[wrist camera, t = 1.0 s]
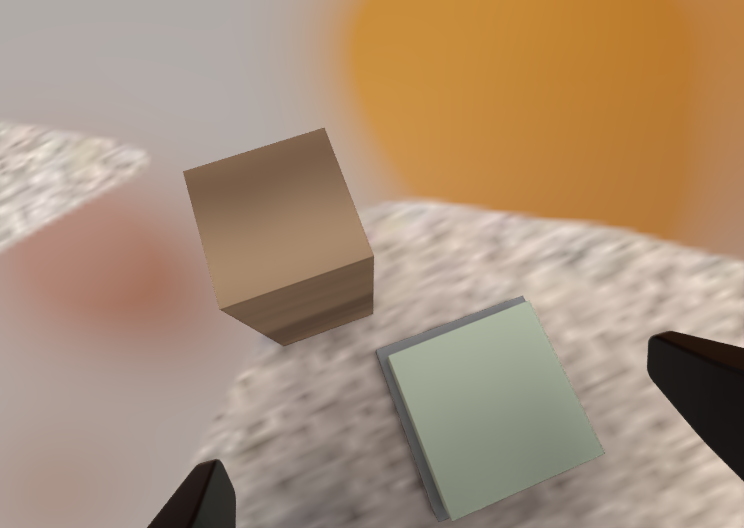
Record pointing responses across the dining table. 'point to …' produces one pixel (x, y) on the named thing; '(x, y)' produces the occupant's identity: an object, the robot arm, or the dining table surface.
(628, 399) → the dining table surface
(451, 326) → the gray base slab
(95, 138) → the dining table surface
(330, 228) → the walnut pillar
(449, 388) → the sage top slab
